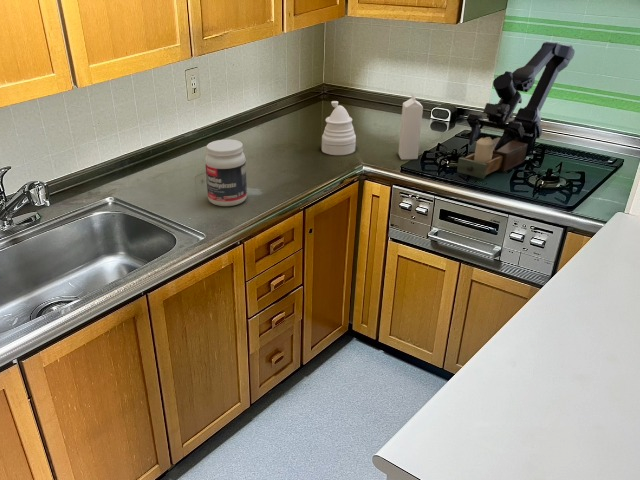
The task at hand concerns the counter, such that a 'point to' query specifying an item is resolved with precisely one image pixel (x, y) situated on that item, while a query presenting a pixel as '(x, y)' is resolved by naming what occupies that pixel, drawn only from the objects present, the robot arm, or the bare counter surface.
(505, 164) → the cabinet
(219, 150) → the supplement tub
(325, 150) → the honey pot
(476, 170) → the drawer
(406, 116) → the milk
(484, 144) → the candle
